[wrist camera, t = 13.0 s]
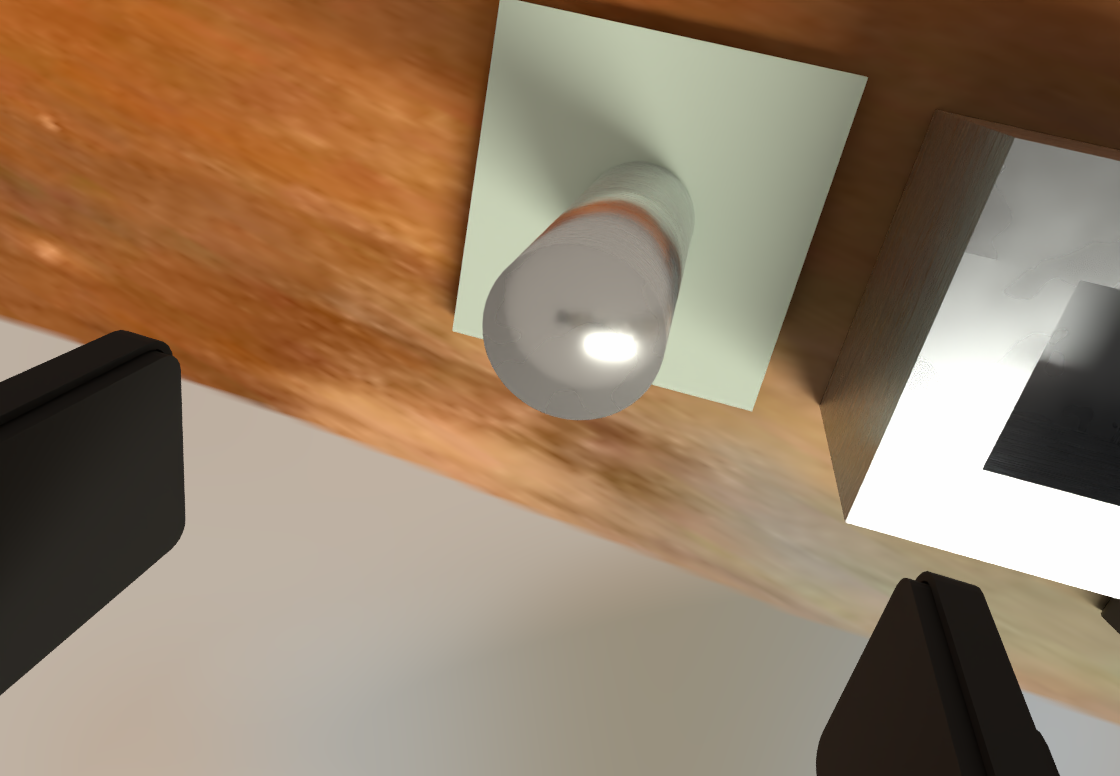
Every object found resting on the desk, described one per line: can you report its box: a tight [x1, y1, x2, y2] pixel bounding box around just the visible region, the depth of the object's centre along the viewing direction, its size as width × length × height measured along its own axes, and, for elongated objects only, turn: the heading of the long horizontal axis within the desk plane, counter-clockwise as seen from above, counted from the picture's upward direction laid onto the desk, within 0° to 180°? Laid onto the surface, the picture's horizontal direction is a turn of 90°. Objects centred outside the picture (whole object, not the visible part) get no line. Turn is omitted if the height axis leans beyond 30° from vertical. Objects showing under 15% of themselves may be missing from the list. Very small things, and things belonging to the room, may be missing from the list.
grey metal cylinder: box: [482, 161, 695, 420], centre depth 22 cm, size 4×4×12 cm
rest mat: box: [453, 0, 868, 411], centre depth 28 cm, size 12×12×1 cm
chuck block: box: [820, 110, 1120, 599], centre depth 23 cm, size 11×11×8 cm
